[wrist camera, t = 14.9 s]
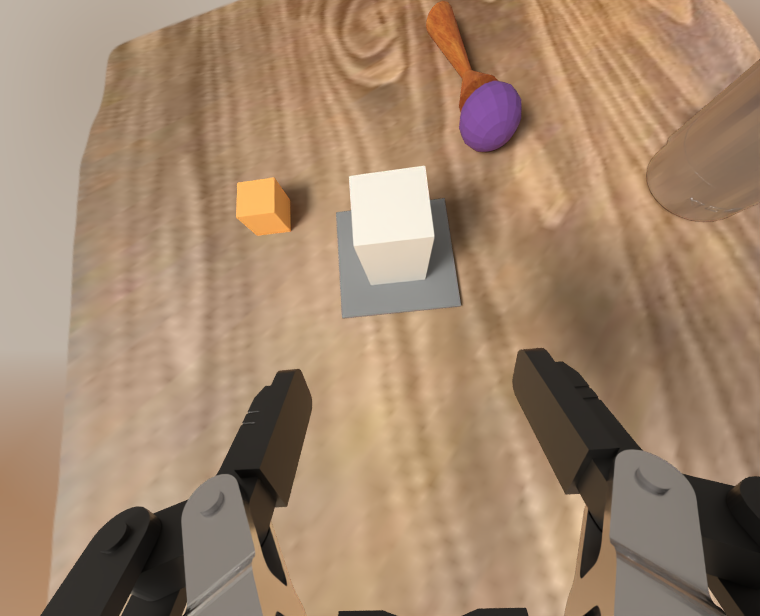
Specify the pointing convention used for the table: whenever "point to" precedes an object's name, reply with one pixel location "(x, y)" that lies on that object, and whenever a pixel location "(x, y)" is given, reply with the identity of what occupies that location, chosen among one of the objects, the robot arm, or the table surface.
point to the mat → (401, 295)
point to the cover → (392, 224)
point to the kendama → (475, 88)
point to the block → (263, 206)
